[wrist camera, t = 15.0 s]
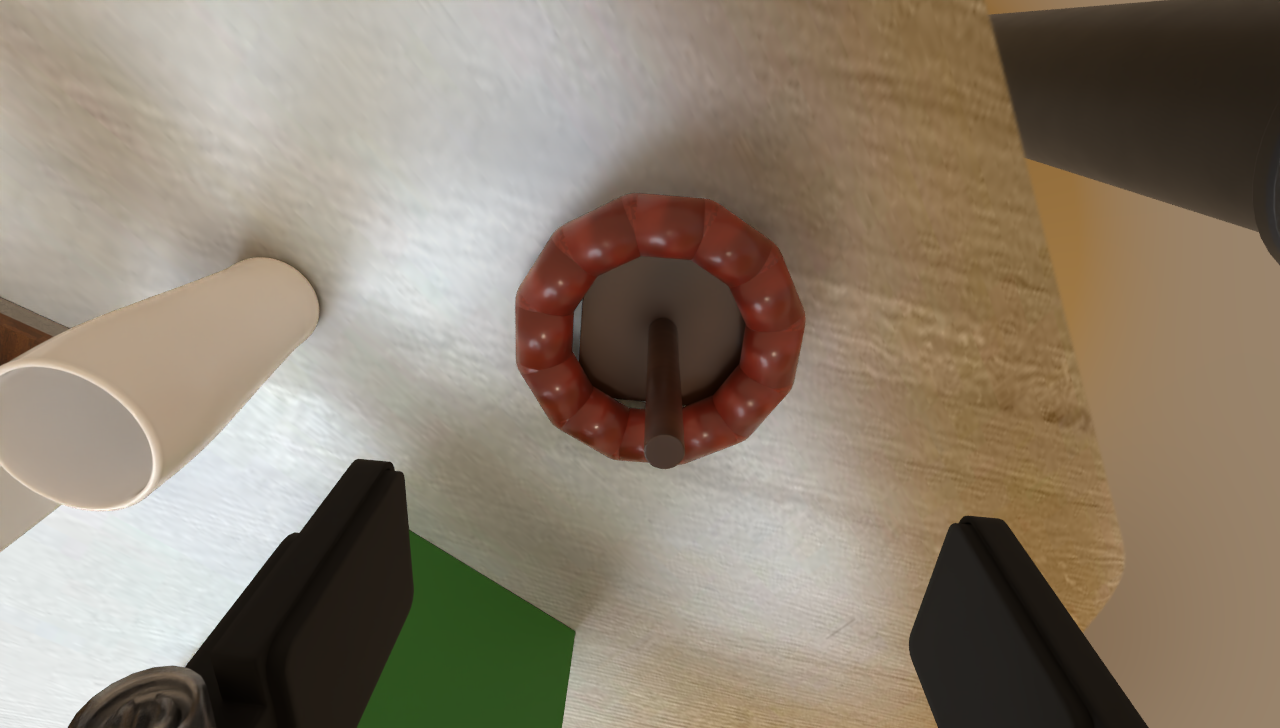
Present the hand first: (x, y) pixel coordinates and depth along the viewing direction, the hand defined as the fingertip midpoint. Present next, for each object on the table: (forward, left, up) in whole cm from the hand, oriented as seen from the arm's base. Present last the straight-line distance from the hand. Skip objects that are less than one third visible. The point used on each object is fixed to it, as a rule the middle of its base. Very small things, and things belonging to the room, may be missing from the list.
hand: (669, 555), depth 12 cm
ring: (0, +6, -23) cm, 24 cm away
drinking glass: (+21, +7, -27) cm, 35 cm away
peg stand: (-1, +6, -26) cm, 27 cm away
